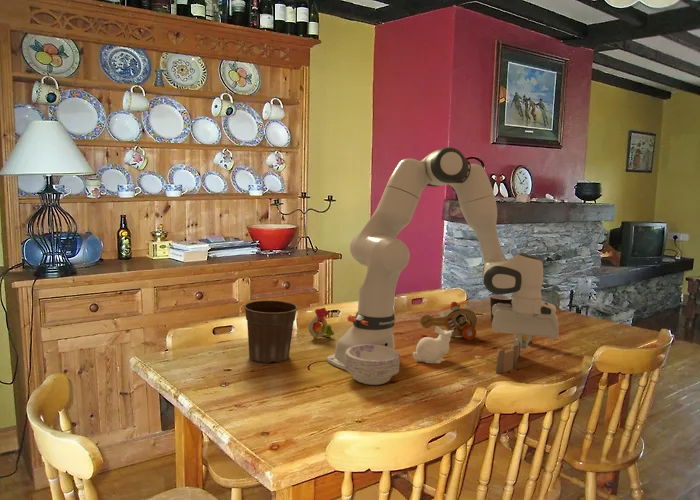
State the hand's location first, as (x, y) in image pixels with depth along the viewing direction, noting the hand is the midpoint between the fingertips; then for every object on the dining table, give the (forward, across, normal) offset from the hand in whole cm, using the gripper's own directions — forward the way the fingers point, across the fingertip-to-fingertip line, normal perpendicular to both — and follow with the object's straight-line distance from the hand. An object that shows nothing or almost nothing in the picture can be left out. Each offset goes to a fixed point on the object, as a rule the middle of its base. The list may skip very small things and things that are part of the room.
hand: (523, 348), depth 180 cm
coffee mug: (+4, -11, +48) cm, 49 cm away
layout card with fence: (+4, -6, -5) cm, 9 cm away
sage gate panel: (+3, -2, -2) cm, 5 cm away
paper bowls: (+4, -39, -37) cm, 54 cm away
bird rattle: (+3, -67, -6) cm, 67 cm away
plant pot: (+3, -73, -33) cm, 80 cm away
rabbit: (+4, -26, -13) cm, 29 cm away
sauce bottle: (+4, -1, +21) cm, 22 cm away
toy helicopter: (+4, -26, +16) cm, 31 cm away
